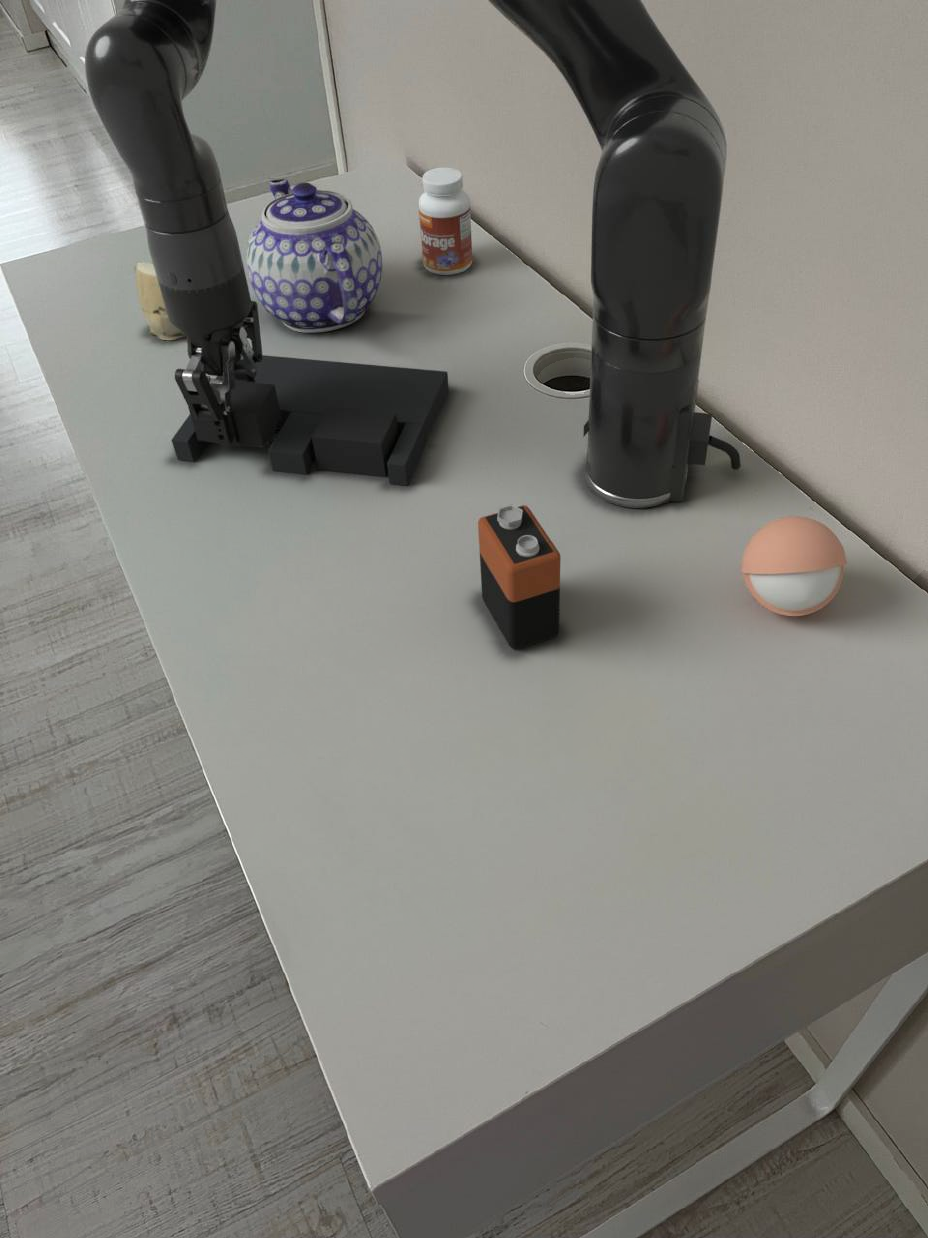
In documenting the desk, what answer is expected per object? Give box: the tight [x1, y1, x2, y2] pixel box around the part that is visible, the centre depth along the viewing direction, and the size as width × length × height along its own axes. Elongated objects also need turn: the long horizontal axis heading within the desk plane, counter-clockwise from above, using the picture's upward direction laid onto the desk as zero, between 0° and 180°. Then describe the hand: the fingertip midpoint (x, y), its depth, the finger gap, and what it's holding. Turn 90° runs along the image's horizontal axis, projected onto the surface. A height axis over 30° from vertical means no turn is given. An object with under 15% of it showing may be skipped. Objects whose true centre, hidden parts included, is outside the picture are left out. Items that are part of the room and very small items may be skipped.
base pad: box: [171, 354, 450, 487], centre depth 104 cm, size 24×16×2 cm, turn 76°
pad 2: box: [312, 407, 399, 478], centre depth 99 cm, size 7×5×4 cm
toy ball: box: [741, 515, 848, 617], centre depth 81 cm, size 8×8×8 cm
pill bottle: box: [418, 167, 473, 276], centre depth 123 cm, size 6×6×11 cm
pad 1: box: [187, 378, 282, 449], centre depth 100 cm, size 7×5×4 cm
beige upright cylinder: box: [133, 261, 187, 341], centre depth 117 cm, size 6×5×8 cm
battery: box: [477, 504, 561, 650], centre depth 81 cm, size 4×7×10 cm, turn 21°
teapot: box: [246, 178, 383, 334], centre depth 116 cm, size 25×15×15 cm, turn 21°
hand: (239, 425), depth 101 cm, fingers closed on pad 1, 5 cm apart
